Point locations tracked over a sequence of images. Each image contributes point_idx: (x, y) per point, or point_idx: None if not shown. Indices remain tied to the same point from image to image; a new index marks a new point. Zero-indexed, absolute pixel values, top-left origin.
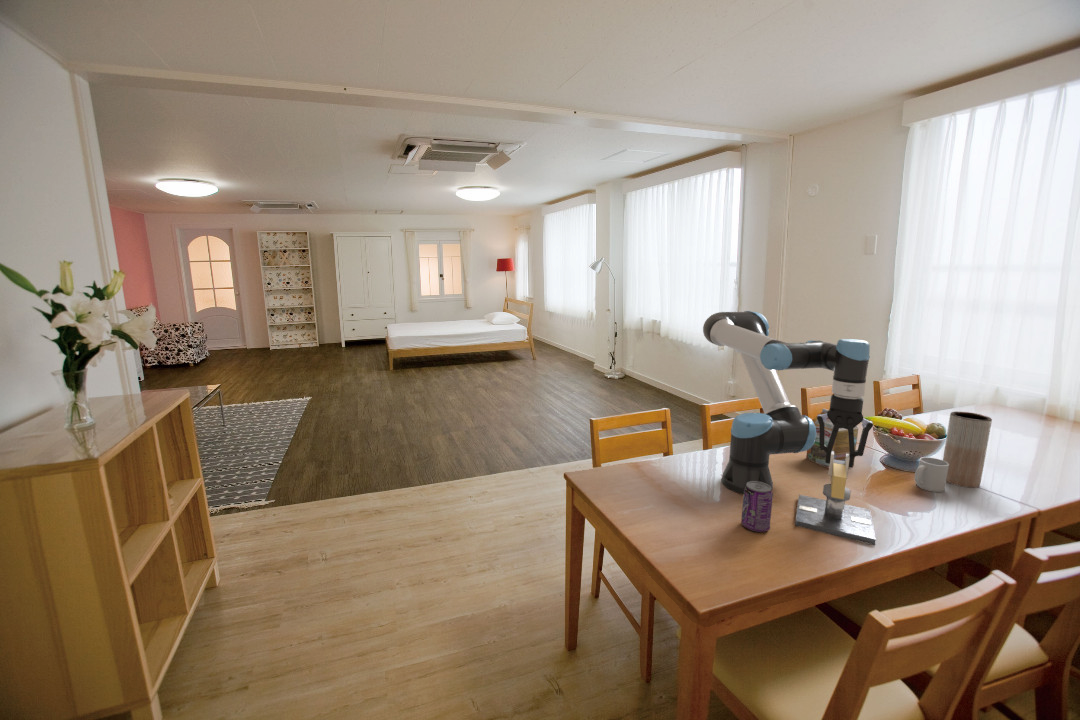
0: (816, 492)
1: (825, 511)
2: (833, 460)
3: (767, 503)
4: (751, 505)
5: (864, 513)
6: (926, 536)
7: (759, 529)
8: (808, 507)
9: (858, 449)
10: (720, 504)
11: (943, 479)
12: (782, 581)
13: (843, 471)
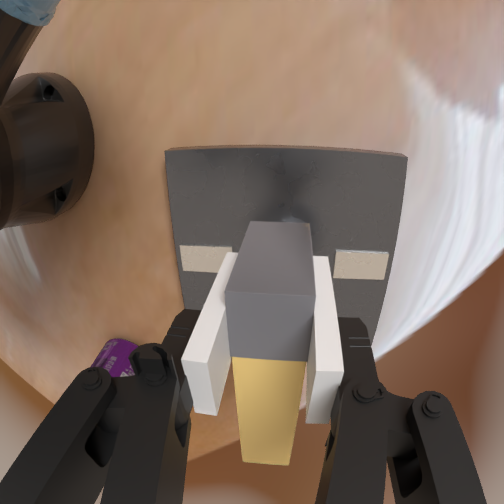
0: (225, 44)
1: None
2: (226, 376)
3: None
4: None
5: (383, 202)
6: (499, 235)
7: None
8: (206, 249)
9: (416, 438)
10: (48, 290)
11: None
12: (213, 447)
13: (284, 431)
